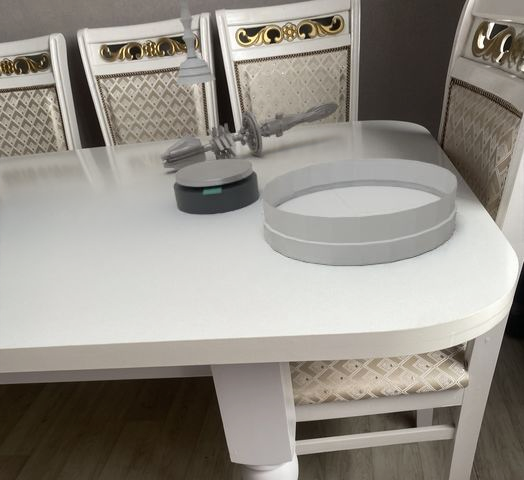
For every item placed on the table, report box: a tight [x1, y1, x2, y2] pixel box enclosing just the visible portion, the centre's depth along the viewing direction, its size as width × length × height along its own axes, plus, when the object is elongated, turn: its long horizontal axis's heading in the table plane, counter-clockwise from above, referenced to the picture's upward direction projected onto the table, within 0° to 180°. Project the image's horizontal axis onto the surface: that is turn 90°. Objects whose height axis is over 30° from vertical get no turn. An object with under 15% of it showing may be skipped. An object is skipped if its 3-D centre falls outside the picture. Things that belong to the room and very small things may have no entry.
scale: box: [172, 170, 260, 216], centre depth 75 cm, size 12×12×3 cm
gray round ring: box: [261, 157, 458, 266], centre depth 61 cm, size 22×22×5 cm
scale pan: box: [174, 158, 254, 187], centre depth 74 cm, size 11×11×1 cm
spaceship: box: [159, 101, 339, 170], centre depth 95 cm, size 8×35×8 cm
